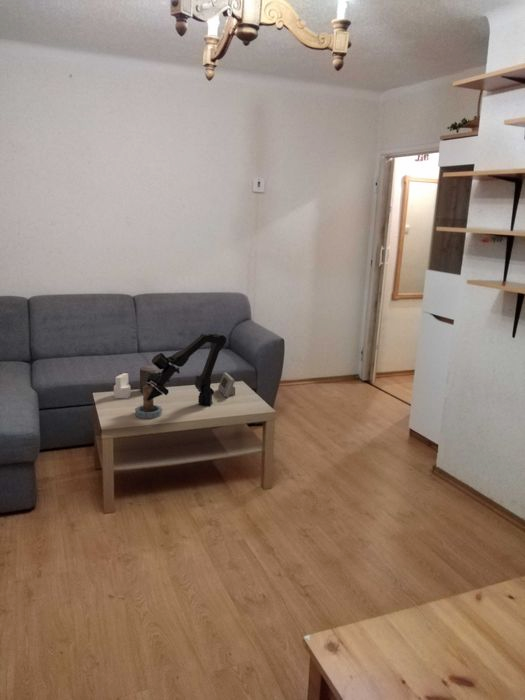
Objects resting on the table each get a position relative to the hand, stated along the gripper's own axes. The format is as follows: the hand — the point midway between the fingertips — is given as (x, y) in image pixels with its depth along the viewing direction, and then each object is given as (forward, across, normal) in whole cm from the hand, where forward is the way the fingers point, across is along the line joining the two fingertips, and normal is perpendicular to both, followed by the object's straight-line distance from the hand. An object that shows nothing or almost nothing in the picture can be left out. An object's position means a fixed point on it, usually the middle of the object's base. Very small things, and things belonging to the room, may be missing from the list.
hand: (145, 398), depth 278 cm
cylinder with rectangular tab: (+7, -33, +6) cm, 34 cm away
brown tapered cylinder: (+4, 0, +6) cm, 7 cm away
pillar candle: (-5, -35, +17) cm, 40 cm away
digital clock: (-31, -11, +44) cm, 55 cm away
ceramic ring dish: (+5, 0, +7) cm, 9 cm away
